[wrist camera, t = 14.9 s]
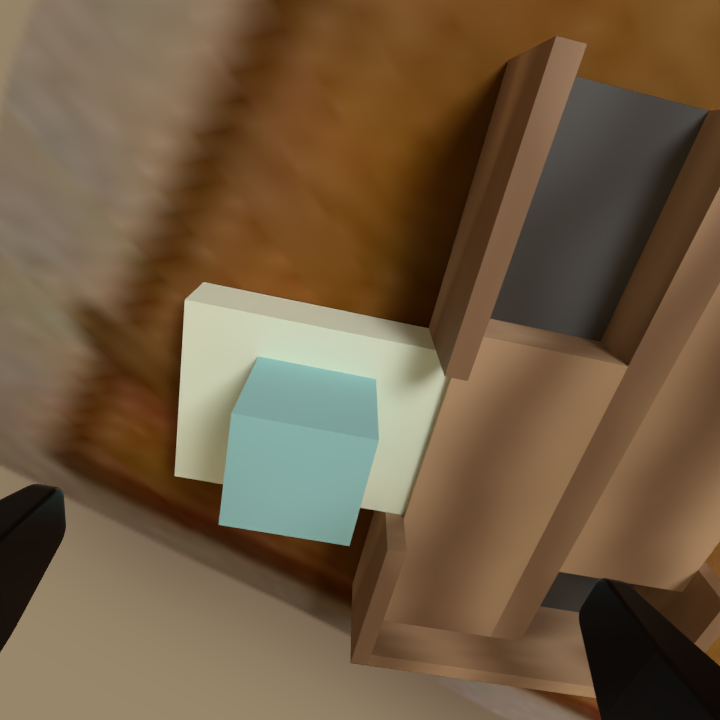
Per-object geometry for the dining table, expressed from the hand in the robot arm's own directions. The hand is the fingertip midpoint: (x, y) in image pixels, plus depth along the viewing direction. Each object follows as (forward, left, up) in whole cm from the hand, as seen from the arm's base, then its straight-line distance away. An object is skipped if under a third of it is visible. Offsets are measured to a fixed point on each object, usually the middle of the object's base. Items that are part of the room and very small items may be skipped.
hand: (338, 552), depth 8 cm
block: (+1, +4, -10) cm, 11 cm away
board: (+1, +4, -12) cm, 13 cm away
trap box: (-11, +3, -12) cm, 17 cm away
